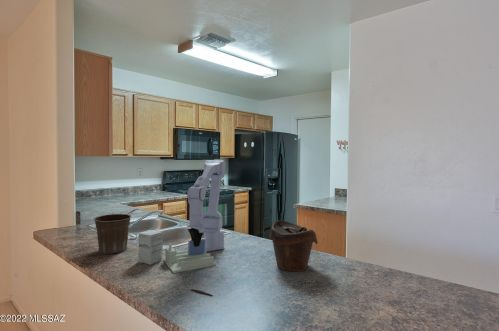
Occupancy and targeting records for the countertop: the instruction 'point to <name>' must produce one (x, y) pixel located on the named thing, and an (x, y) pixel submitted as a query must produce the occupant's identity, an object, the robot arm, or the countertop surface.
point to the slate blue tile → (196, 248)
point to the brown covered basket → (292, 245)
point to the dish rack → (186, 260)
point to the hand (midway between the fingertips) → (195, 245)
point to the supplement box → (150, 246)
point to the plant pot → (112, 232)
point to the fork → (193, 290)
